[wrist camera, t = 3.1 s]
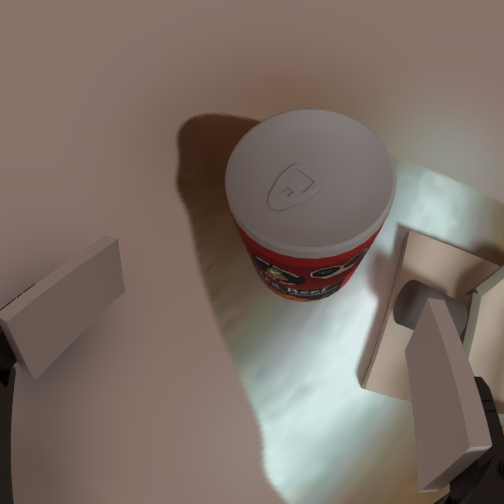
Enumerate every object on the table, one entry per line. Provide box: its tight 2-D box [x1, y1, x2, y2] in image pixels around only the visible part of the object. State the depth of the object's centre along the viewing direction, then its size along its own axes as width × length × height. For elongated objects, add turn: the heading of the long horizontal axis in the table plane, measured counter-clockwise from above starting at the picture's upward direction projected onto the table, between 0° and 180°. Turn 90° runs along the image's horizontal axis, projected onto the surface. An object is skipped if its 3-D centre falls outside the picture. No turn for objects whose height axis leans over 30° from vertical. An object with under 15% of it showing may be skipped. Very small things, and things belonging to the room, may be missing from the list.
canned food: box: [225, 108, 397, 302], centre depth 18 cm, size 8×8×11 cm
